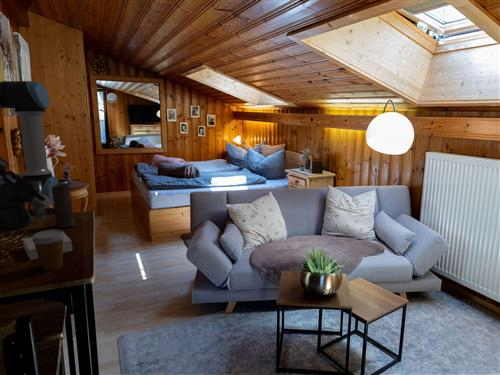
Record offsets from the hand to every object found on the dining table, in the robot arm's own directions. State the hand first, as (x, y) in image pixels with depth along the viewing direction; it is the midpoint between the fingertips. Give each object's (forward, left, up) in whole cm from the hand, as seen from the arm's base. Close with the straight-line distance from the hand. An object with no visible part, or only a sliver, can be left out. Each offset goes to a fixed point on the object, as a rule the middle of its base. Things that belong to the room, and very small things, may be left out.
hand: (50, 203), depth 137 cm
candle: (-24, +9, -18) cm, 32 cm away
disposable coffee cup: (+19, -5, -18) cm, 26 cm away
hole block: (+1, -3, -18) cm, 18 cm away
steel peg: (0, -4, -4) cm, 6 cm away
